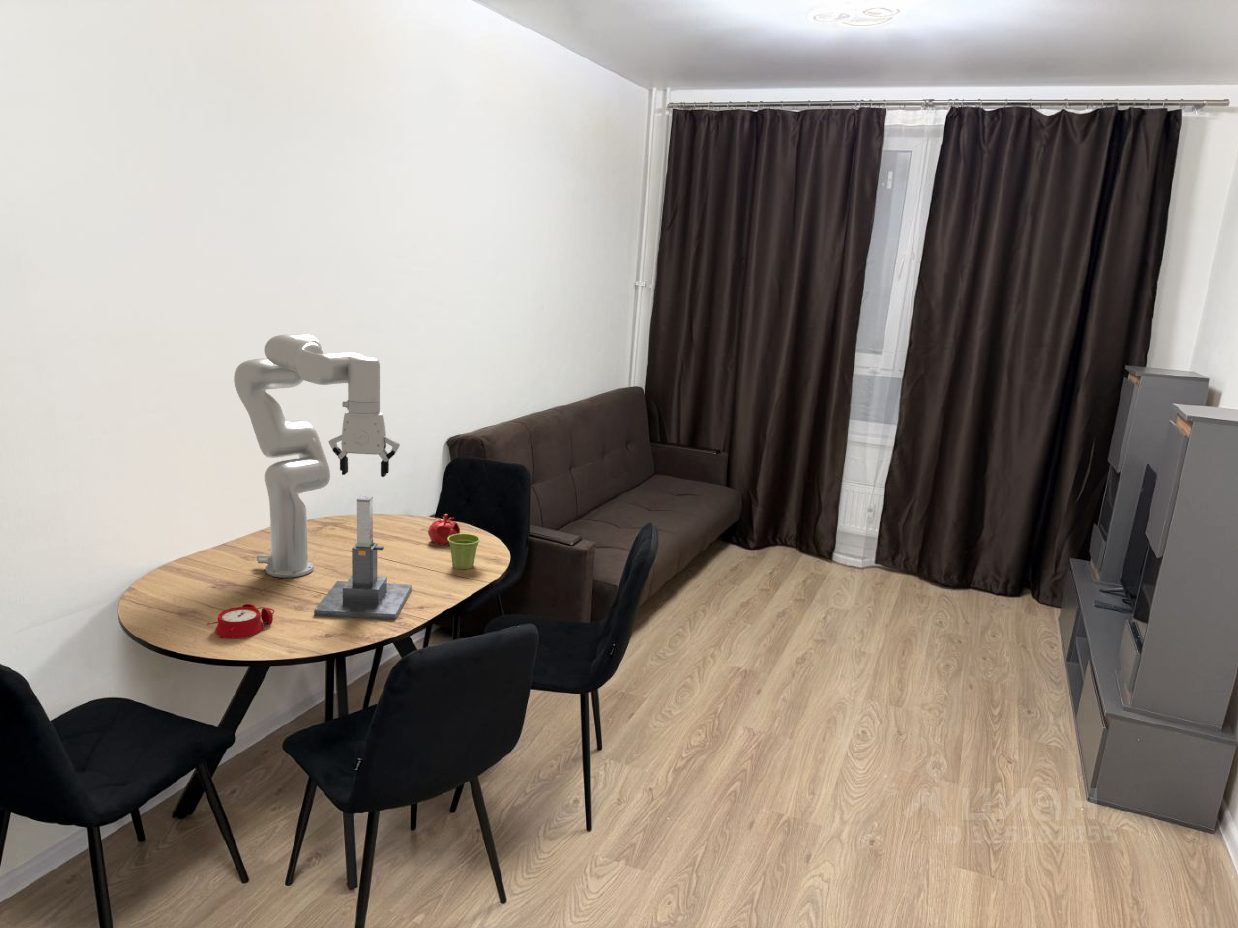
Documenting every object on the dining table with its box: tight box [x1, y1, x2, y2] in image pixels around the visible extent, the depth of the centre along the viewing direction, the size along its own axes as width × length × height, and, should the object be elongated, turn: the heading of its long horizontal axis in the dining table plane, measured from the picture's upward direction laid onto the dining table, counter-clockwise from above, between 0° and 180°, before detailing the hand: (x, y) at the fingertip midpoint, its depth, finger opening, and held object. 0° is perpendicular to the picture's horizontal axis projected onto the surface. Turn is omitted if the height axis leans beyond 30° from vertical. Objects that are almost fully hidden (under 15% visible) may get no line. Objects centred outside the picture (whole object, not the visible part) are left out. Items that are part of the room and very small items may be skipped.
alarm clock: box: [206, 603, 275, 639], centre depth 204 cm, size 10×6×15 cm
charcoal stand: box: [313, 542, 413, 620], centre depth 221 cm, size 20×20×16 cm
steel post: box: [355, 495, 374, 548], centre depth 219 cm, size 3×3×17 cm
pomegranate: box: [427, 513, 461, 546], centre depth 272 cm, size 10×10×9 cm
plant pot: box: [448, 533, 481, 570], centre depth 252 cm, size 9×9×9 cm
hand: (364, 474), depth 215 cm, fingers open, 9 cm apart
